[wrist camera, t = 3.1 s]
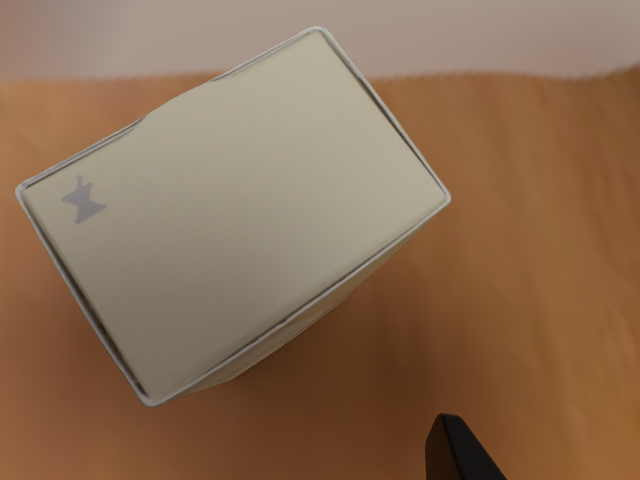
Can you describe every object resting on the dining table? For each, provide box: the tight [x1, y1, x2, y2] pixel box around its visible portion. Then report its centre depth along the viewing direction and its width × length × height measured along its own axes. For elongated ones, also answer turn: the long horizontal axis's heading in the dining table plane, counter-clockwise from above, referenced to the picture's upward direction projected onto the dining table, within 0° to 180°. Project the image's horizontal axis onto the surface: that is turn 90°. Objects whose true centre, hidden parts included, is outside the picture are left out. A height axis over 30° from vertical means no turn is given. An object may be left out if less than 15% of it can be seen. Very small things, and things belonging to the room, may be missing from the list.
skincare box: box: [15, 26, 451, 408], centre depth 14 cm, size 6×4×12 cm
